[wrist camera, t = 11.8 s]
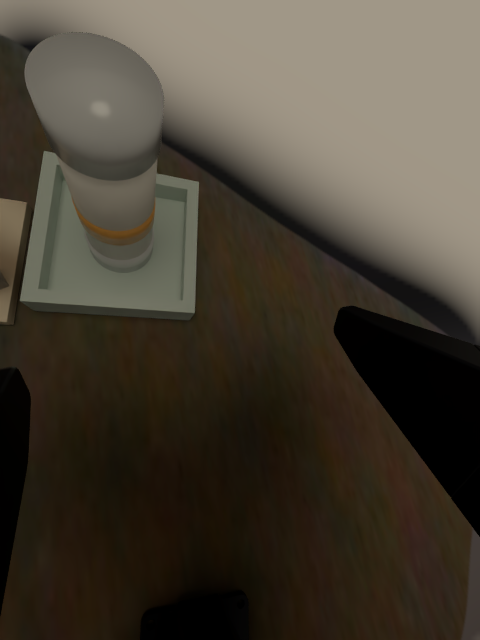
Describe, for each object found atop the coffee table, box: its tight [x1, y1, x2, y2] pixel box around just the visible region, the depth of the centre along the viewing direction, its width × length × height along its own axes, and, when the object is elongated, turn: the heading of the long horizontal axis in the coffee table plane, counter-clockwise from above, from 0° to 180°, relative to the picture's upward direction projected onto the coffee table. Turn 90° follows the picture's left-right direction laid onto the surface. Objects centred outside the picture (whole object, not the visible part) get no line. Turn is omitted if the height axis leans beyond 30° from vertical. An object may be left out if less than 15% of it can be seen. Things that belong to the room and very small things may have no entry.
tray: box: [20, 151, 199, 320], centre depth 21 cm, size 10×10×2 cm
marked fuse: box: [25, 32, 164, 273], centre depth 16 cm, size 4×4×12 cm
